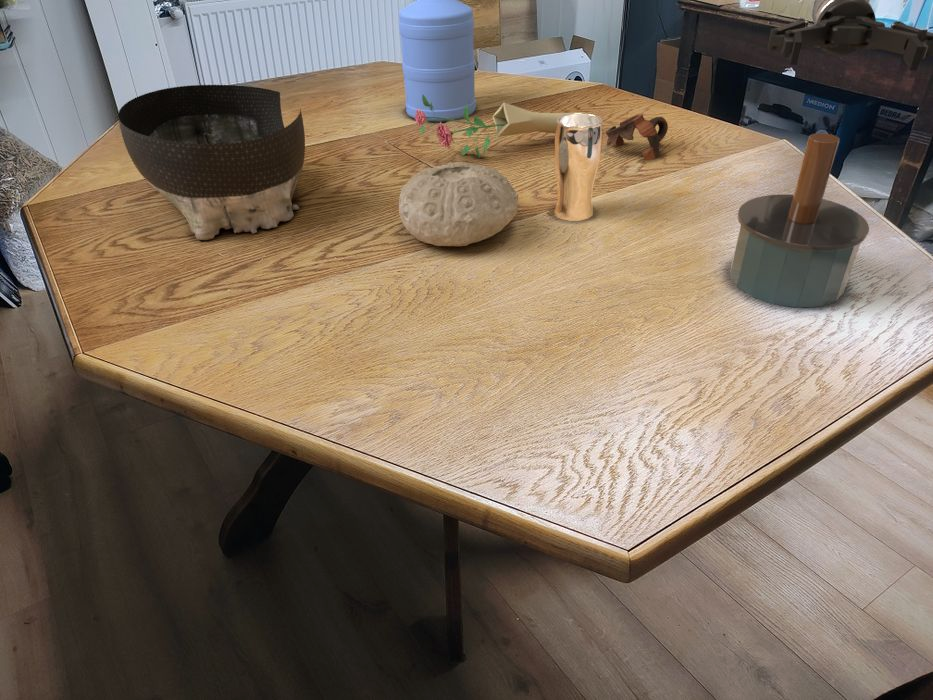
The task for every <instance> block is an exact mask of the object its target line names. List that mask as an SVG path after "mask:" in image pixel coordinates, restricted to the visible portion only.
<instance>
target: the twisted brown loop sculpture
mask: <svg viewBox="0 0 933 700" xmlns="http://www.w3.org/2000/svg"><path fill="white" fill-rule="evenodd" d="M657 126H658V131H657V128H656V127H657ZM668 128H669V124H668V121H667V120H666V118H665V117H663V116H655V117H653V118H651V119H649V120H648V119H645V117H644V115H643V113H638V114H635V115H633V116H631V117H628V118H627V119H625V120H622V121H621V122H620V123H619V126H616V125H614V126H612V127H610V128H609V129H608V130H606V132H605V134H606V135H607V141H606V146H611V145H613V146H614V147H617V146H623V145H624V143H625V140H627V141H633V140H634V132H635V130H637V131H638V132H639V133H638V134H640V135H641V136H642V138H645V139H647V141H648V145H649V147H648V148H647V149H645V150H643V151H642V152H641V154H642V156H643V158H644V161H646V162H647V161H653V160H656V159H657V158H659V157H660V156H661V149H660V143H661V141H663V139H664V138H665V137H666V135H667V133H668V130H669V129H668Z"/></svg>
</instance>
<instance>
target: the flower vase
mask: <svg viewBox="0 0 933 700" xmlns="http://www.w3.org/2000/svg"><path fill="white" fill-rule="evenodd" d="M422 100H423V104H424V105H425V106H428V107H430V104H429V102H428V101H427V99H426V98H425V96H424V95H422ZM432 109H433V106H432V102H431V107H430V110H431V111H434V110H432ZM468 112H469V107H468V104H467V105H466V107H465V109H464V115H463V118H462V119H464V120H465V121H462V120H459V119H455V120H452V119H447V118H441V117H427V116H426V114H425V113H424V112H423V110H422V111H421V109H420V110H419V109H417V110H416V116H415V117H416V119H415V122H416V124H417V125H418V127H420V128H419V129H420V130H419V135H422V134H423V133H424V131H425V130H427V129H429V128H432V127H433V126H435V125H436V124H438V123H439V124H438V125H437V128H436V129H435V131H436V136H437V137H438V140H437V141H438V142H440V146H442V147H444V148H445V149H448V150H450V149H451V146H450V145H451V143H452V142H453V143H454V144H455V141H454V140H453V139H454V138H453V134H456V133H460V132H465V131H466V135H467V137H468V138H471V137H472V135H474V136H476V139H475V140H474V142H473V143H472V145H474V144H475V142H476V141H477V143H479V140H478V138H479V136H480V135H481V134H482V133H483V132H484V131H485V130H486V129H487V128H495V130H496V131H495V132H493V133H487V135H486V137H485V138H484V144H483V146H482V154H483V155H484V154H485V152H486V150H487V148H488V147H489V145H490V143H491V141H492V140H493V139H495V137H496V136H497V137H498V138H501V137H508V136H515V135H522V134H528V133H529V134H530V133H535V132H536V133H537V132H538V133H547V134H554V135H555V134H556V126H557V119H558V117H560V116H562V115H565V114H570V113H571V112H536V111H532V110H527V109H524V108H521V107H519V106H516V105H513V104H509V103H507V102H503V103H502V104H501V105H500V106H499V108H498V109H497V110H496V111H495V113H494V114H493V115H492V120H493V123H494V124H491V125H487V124H485V123H484V121H483V120H482V119H481V118H479V117H478V116H477V115H475V116H474V117H473V122H471V121H470V115H469V113H468ZM573 113H585V112H584V111H576V112H573ZM433 114H434V112H433ZM427 118H438V119H443V120H444V119H445V120H449V121H450V122H451V121H452V122H455V123H456V122H457V123H462V124H468V125H470V126H469V127H467V128H462V129H458V130H454V131H451V129H450V128H449V127H448V125H447V123H445V125H444V122H440V121H439V122H436V123H433V124H432V125H430V126H428V127H426V128H425V127H424V125H427V124H428V123H429V124H431V122H428V121H427ZM441 121H442V120H441ZM474 125H475V126H474ZM479 129H482V130H481V132H480V133H479V134H476V133H477V132H478V131H479ZM494 134H495V135H496V136H494V137H493V138H491V139H490V136H491V135H494ZM470 148H471V146H469V145H468V144H466V145H464V147H463V149H462V150H461V154H462V155H463V156H465V155H466V154H467V153H469V151H470ZM474 151H475V153H476V156H477V158H479V159H482V158H481V155H480V152H479V144H477V145H476V146H475V149H474Z"/></svg>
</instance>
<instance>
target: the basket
mask: <svg viewBox="0 0 933 700" xmlns="http://www.w3.org/2000/svg"><path fill="white" fill-rule="evenodd" d="M117 114H118V115H117V118H118V122H119V129H120V133H121V137H122V141H123V143H124V147H125V148H126V151H127V154H128V155H129V157H130V160H131V161H132V163H133V165H134V166H135V168H136V169H137V171H138V172H139V174H140V175H141V176H142V177H143V178H144V179H145V181H146V182H147V183H148V184H149V185H150V186H151V187H153V189H155V191H156V192H158V193H159V194H160V195H161V196H163V197H164V198H165V200H167V201H168V202H169V203H170V204H172V205H173V206H174V208H176V209H177V210H178V211H179V212H180V213H181V214H182V215H183V216H184V218H185V219H186V221H187V223H188V225H189V229H190V231H191V233H192V234H194V236H195V238H196V240H199V241H208V240H212V239H215V236H217V235H219V233H220V230H221V229H224V230H230V229H233V232H234V234H239V233H241V232H245V233H248V232H251V234H257V233H258V229H259V228H260V229H262V230H263V229H264V230H271V229H272V228H273V229H274V228H277V227H278V225H279V223H280V222H284V223H285V222H289V221H290V220H292V219H293V218H294V216H295V215H294V210H299V209H300V206H299V205H298V204H296V203H292V200H293V198H294V194H295V191H296V188H297V185H298V183H299V180H300V178H301V175H302V171H303V168H304V163H305V156H306V155H305V154H306V134H305V126H304V119H303V116H302V115H303V114H302V109H301V108H299V113H298V115H297V117H296V118H295V119H294V120H293V121H292V122H291V123H289V124H287V125H286V126H285V125H284V120H283V114H282V107H281V92H280V91H279V90H272V89H268V88H263V87H256V86H249V85H248V86H246V85H237V84H236V85H234V84H233V85H232V84H230V85H229V84H194V85H181V86H173V87H167V88H163V89H162V88H161V89H158V90H154V91H150V92H147V93H143V94H141V95H139V96H137V97H134V98H132V99H131V100H128V101H127V102H126V103H124V104H123V105H122V106H121V107H120V109H119V110H118V113H117Z"/></svg>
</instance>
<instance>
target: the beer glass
mask: <svg viewBox="0 0 933 700" xmlns="http://www.w3.org/2000/svg"><path fill="white" fill-rule="evenodd" d="M569 113H570V114H565V115H562V116H560V117H558V119H557V126H556V134H555V133H554V145H553V161H554V170H555V178H556V184H557V199H556V204H555V208H554V211H553V212H554V216H555V217H556V218H558V219H560V220H561V219H562V220H566V221H571V222H573V221H574V222H577V221H584V220H588V219H590V218H591V217H593V214H594V210H593V209H594V208H593V191H594V185H595V182H596V179H597V175H598V171H599V168H600V163H601V157H602V149H603V119H602V117H600V116H599V115H598V114H597V115H596V114H593V113H588V112H584V113H574V112H569Z"/></svg>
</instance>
